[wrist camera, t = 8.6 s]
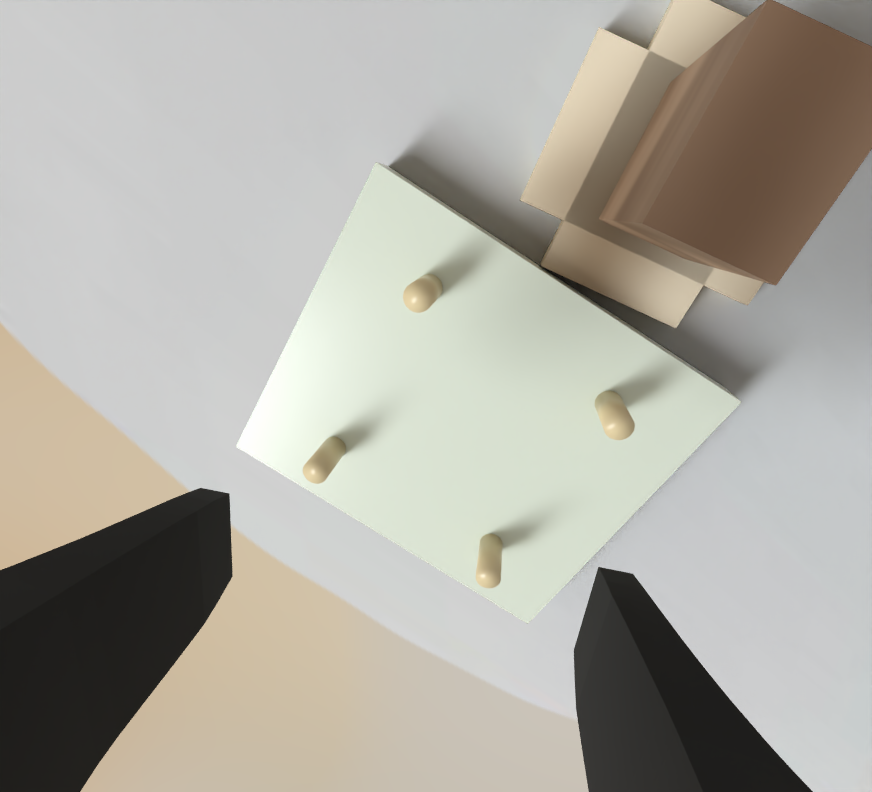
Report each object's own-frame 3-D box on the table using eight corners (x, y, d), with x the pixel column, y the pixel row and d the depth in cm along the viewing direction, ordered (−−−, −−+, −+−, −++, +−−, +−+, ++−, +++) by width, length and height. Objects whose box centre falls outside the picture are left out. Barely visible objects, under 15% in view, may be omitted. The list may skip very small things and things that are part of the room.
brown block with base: (873, 95, 14) (1165, 0, 8) (707, 340, 17) (820, 417, 11) (621, -22, 14) (707, -215, 8) (499, 244, 17) (488, 264, 11)
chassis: (724, 386, 18) (770, 426, 14) (527, 597, 22) (528, 664, 19) (387, 166, 17) (356, 155, 14) (254, 431, 21) (206, 470, 18)
